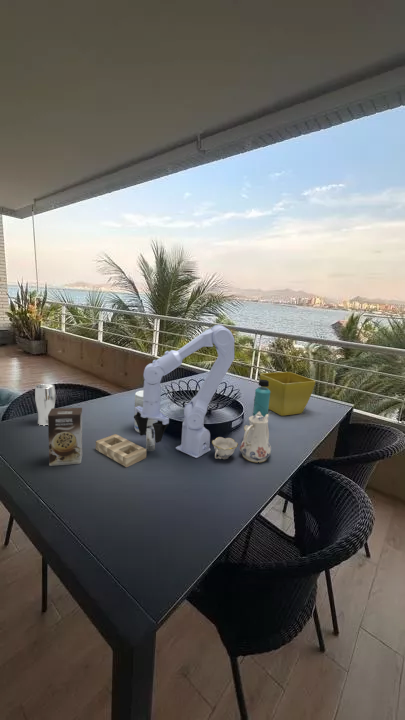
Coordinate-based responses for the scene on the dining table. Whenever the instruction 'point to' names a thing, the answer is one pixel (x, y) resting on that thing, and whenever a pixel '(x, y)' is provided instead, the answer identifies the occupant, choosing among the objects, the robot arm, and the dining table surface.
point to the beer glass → (44, 401)
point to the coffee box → (65, 436)
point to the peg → (150, 438)
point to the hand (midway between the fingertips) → (150, 437)
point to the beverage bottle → (262, 398)
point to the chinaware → (248, 441)
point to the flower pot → (288, 392)
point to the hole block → (121, 450)
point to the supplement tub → (140, 403)
